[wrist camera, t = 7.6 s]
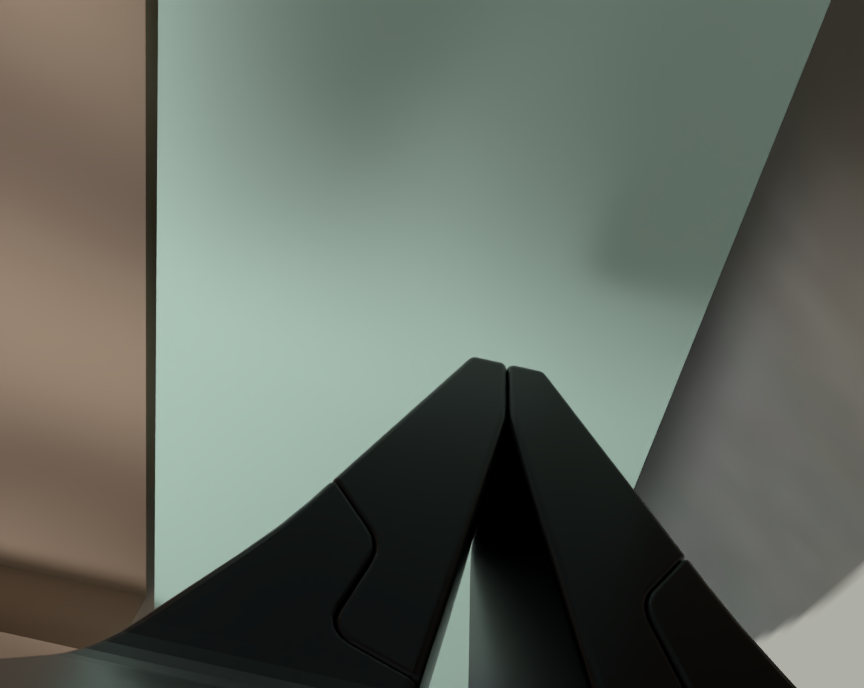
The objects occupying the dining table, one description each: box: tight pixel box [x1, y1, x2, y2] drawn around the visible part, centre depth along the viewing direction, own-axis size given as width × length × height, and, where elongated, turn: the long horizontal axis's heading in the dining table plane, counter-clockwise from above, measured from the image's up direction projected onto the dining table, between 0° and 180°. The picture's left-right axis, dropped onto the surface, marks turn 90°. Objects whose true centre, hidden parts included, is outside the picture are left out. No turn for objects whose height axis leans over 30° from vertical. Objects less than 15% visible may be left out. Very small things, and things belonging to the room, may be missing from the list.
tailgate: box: [154, 0, 831, 688], centre depth 12 cm, size 18×1×8 cm
